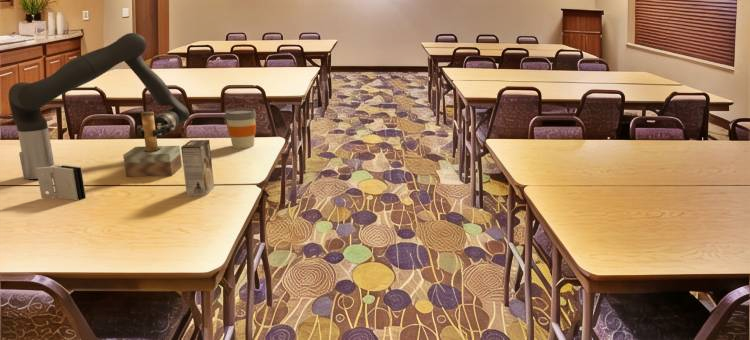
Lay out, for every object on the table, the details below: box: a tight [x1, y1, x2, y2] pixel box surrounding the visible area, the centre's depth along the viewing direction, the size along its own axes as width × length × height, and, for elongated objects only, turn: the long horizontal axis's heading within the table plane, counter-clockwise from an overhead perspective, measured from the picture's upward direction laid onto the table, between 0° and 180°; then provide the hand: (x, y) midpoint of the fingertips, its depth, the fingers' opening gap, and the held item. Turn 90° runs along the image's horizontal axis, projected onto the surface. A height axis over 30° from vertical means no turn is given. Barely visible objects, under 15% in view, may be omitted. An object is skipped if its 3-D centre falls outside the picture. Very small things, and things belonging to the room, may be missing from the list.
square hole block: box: [122, 145, 183, 178], centre depth 209 cm, size 16×12×8 cm
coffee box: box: [180, 139, 215, 197], centre depth 184 cm, size 9×6×16 cm
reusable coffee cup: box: [225, 108, 257, 149], centre depth 244 cm, size 13×13×15 cm
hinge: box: [36, 164, 87, 201], centre depth 182 cm, size 14×5×10 cm, turn 81°
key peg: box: [140, 111, 159, 152], centre depth 206 cm, size 4×4×17 cm
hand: (147, 134), depth 203 cm, fingers closed on key peg, 4 cm apart
